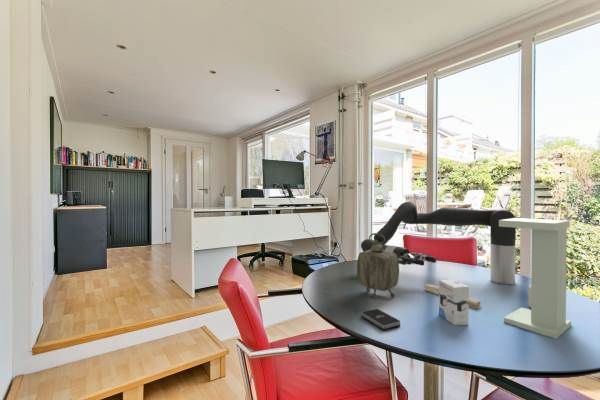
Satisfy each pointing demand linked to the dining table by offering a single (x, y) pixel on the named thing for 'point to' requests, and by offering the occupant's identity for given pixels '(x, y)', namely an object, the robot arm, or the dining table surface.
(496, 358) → the dining table surface
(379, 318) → the external hard drive
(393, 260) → the tabletop clock
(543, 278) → the shelf stand
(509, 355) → the dining table surface
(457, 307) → the ink box
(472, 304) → the ash rod
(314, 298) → the dining table surface
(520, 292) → the dining table surface
